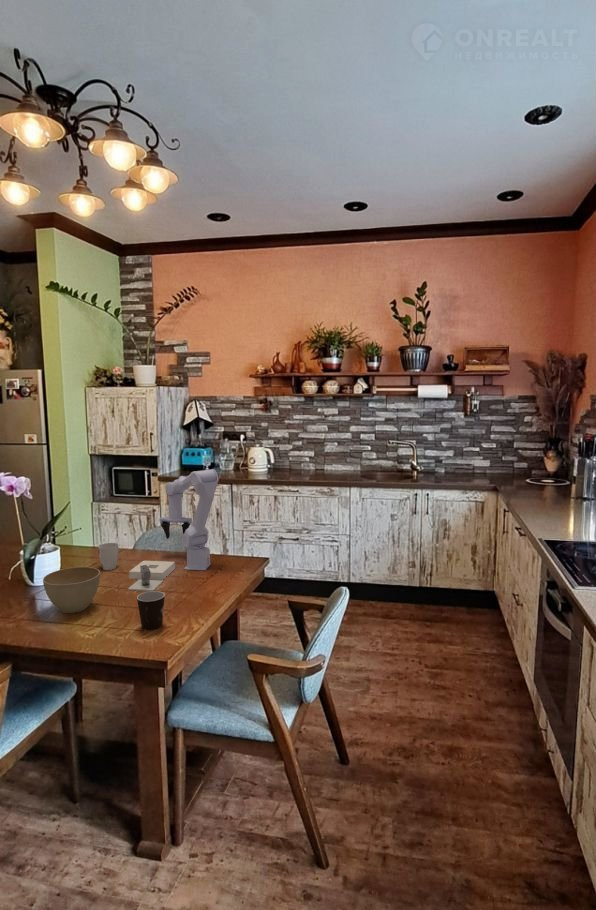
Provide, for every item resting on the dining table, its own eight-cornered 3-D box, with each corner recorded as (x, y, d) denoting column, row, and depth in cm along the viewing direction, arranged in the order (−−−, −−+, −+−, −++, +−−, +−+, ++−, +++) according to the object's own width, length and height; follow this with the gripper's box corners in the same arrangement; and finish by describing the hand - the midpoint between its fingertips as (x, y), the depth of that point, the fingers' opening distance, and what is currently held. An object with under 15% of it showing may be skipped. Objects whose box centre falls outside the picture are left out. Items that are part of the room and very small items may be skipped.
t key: (151, 587, 205) (151, 570, 204) (143, 588, 204) (143, 572, 203) (147, 580, 212) (147, 564, 212) (140, 581, 211) (139, 565, 210)
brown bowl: (76, 595, 199) (75, 563, 197) (112, 604, 190) (111, 571, 189) (33, 613, 183) (31, 579, 181) (69, 624, 175) (67, 588, 173)
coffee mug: (149, 618, 179) (148, 589, 177) (171, 622, 175) (170, 593, 174) (125, 633, 168) (124, 602, 167) (148, 638, 165) (147, 606, 164)
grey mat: (163, 582, 212) (163, 580, 212) (153, 591, 203) (153, 589, 203) (139, 580, 214) (139, 579, 214) (127, 590, 204) (127, 588, 204)
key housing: (175, 568, 228) (175, 561, 228) (162, 580, 215) (162, 572, 214) (143, 567, 230) (143, 560, 230) (129, 578, 216) (129, 571, 216)
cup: (106, 564, 234) (105, 542, 233) (123, 565, 232) (122, 543, 231) (95, 570, 226) (94, 547, 225) (112, 572, 224) (111, 548, 223)
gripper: (194, 507, 242) (194, 536, 244) (163, 506, 244) (164, 535, 245) (188, 510, 235) (189, 540, 237) (157, 509, 237) (158, 539, 238)
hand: (176, 538), depth 241 cm, fingers open, 7 cm apart
